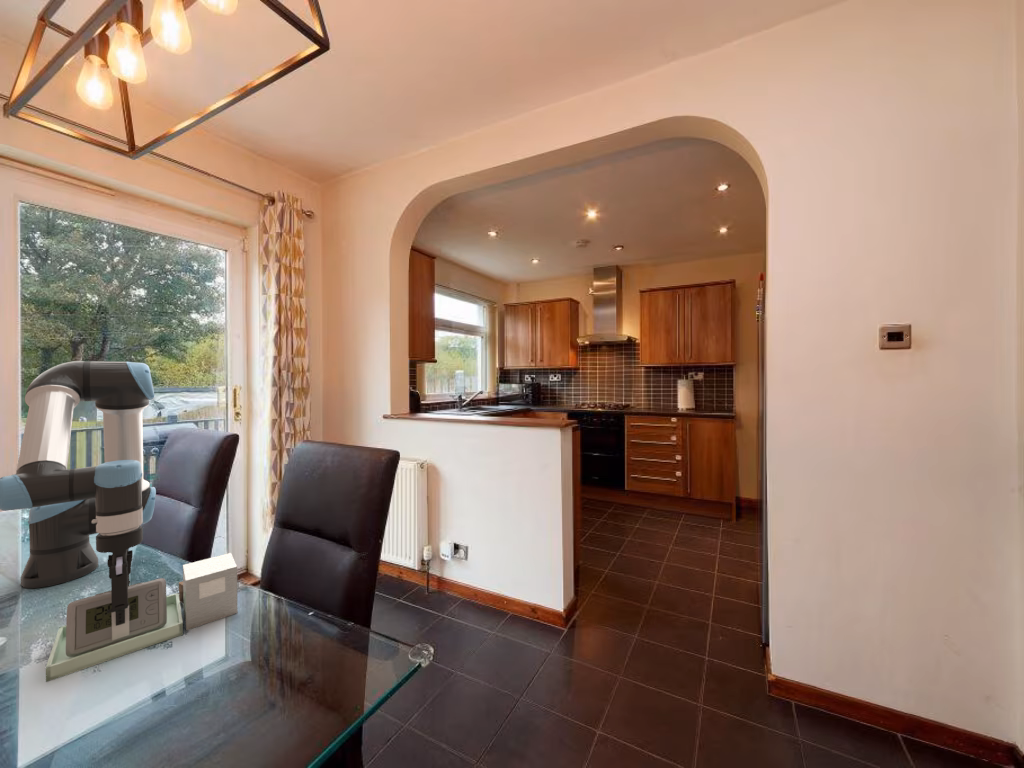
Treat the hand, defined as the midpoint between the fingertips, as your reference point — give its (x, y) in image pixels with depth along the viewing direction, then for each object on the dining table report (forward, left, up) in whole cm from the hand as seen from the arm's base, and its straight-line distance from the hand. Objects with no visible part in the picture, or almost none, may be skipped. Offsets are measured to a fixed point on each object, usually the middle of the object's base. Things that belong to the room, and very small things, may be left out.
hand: (121, 628), depth 89 cm
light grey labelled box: (+2, +16, -2) cm, 16 cm away
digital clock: (+1, 0, -2) cm, 2 cm away
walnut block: (-8, +14, -2) cm, 16 cm away
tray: (0, 0, -2) cm, 2 cm away
